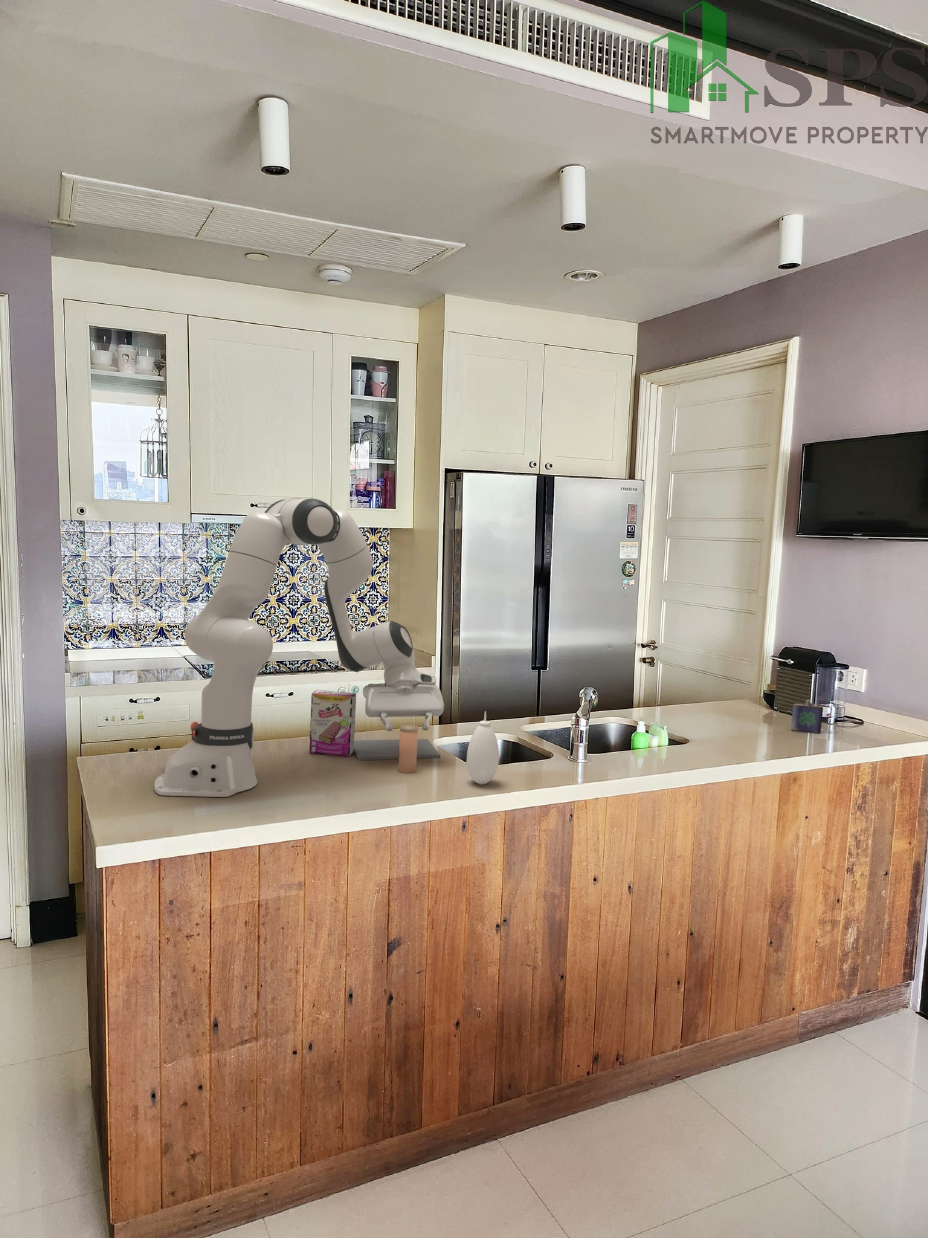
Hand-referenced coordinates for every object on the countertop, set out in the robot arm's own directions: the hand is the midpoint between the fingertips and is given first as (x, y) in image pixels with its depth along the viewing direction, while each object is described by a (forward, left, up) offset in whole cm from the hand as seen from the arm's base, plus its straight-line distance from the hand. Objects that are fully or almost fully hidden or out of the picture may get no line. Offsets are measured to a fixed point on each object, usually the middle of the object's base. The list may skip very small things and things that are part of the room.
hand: (407, 729), depth 210 cm
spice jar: (0, -2, -10) cm, 10 cm away
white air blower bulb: (+16, -14, -10) cm, 23 cm away
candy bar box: (-17, +15, -10) cm, 25 cm away
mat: (0, +16, -10) cm, 19 cm away
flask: (+139, +26, -10) cm, 142 cm away
